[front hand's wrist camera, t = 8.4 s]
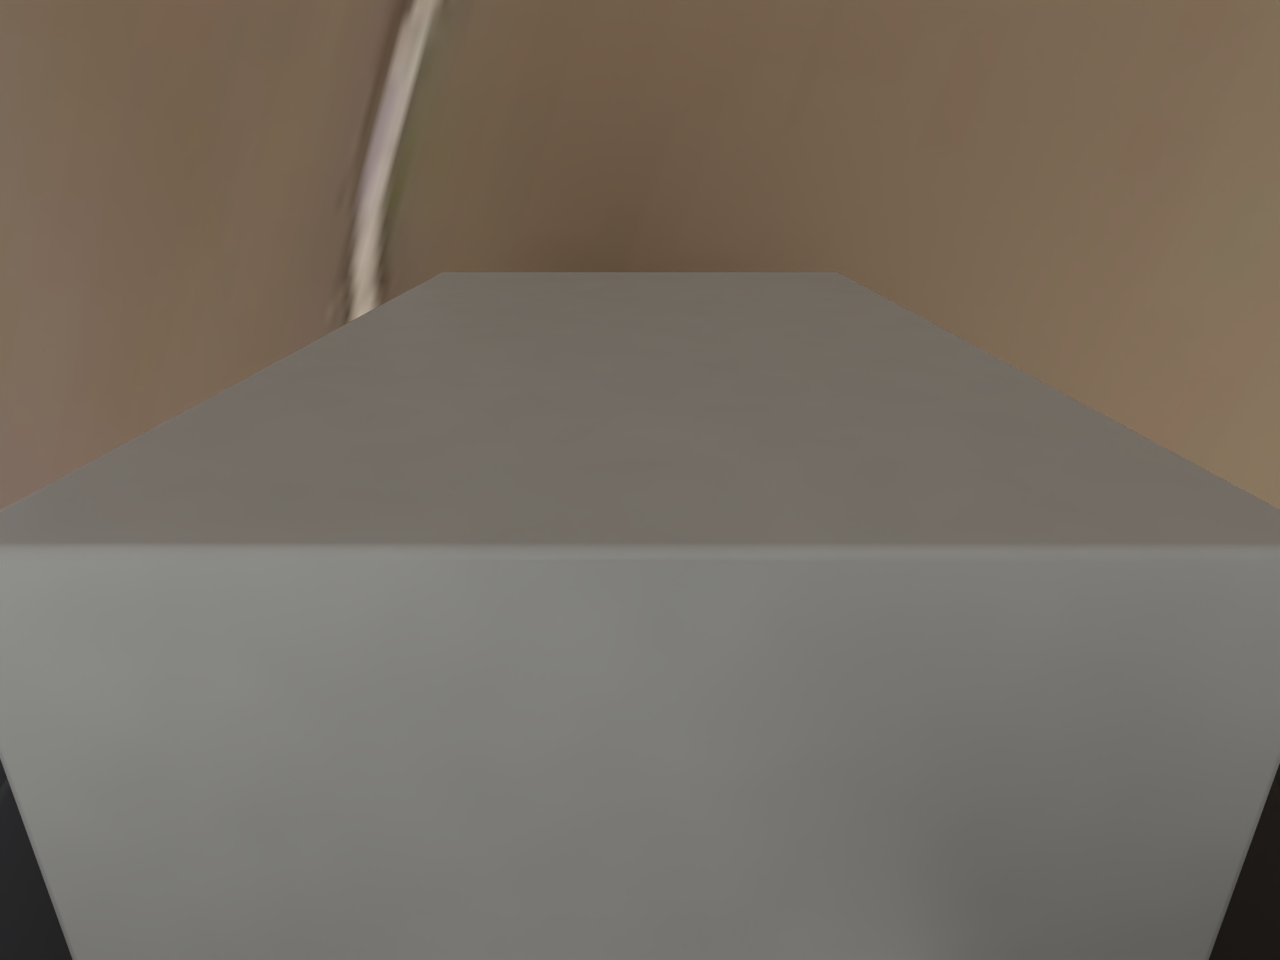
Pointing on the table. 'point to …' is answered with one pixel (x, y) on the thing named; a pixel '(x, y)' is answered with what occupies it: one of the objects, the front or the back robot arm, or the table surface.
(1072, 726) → the box
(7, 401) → the table surface
